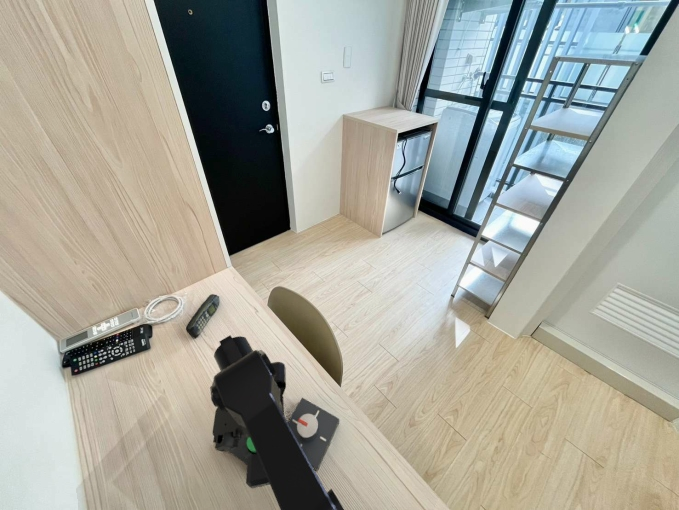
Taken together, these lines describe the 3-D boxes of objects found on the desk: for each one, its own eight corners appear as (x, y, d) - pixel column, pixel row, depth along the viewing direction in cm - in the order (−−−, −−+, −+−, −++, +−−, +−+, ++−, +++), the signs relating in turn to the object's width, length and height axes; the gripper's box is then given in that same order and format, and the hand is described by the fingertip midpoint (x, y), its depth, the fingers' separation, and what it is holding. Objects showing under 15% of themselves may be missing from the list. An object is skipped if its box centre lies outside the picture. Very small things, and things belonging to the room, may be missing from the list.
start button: (258, 456, 56) (256, 454, 54) (245, 446, 57) (243, 445, 55) (269, 438, 58) (267, 436, 57) (256, 429, 59) (254, 427, 58)
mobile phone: (191, 331, 75) (219, 289, 85) (182, 329, 75) (211, 287, 85) (198, 339, 78) (224, 298, 88) (189, 337, 79) (216, 296, 89)
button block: (261, 475, 56) (256, 472, 53) (222, 447, 60) (216, 443, 57) (288, 426, 63) (286, 421, 60) (252, 403, 66) (248, 397, 63)
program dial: (322, 424, 60) (321, 419, 57) (312, 446, 57) (310, 441, 54) (305, 415, 61) (303, 409, 58) (295, 435, 59) (292, 430, 56)
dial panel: (317, 470, 57) (316, 468, 54) (279, 445, 60) (276, 441, 58) (339, 422, 63) (339, 418, 61) (303, 401, 66) (302, 397, 64)
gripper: (217, 356, 49) (239, 387, 60) (195, 491, 35) (229, 499, 46) (279, 346, 50) (290, 379, 61) (280, 473, 37) (293, 485, 48)
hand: (276, 428), depth 54 cm, fingers open, 9 cm apart
